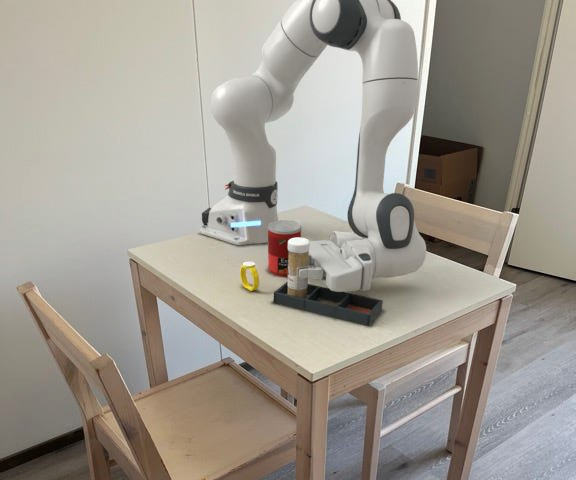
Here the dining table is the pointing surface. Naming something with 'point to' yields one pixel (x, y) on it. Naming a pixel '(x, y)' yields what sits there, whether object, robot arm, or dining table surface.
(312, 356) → the dining table surface
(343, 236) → the white cup
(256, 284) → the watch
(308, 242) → the sprinkles bottle
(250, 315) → the dining table surface
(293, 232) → the canned food
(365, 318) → the compartment tray
